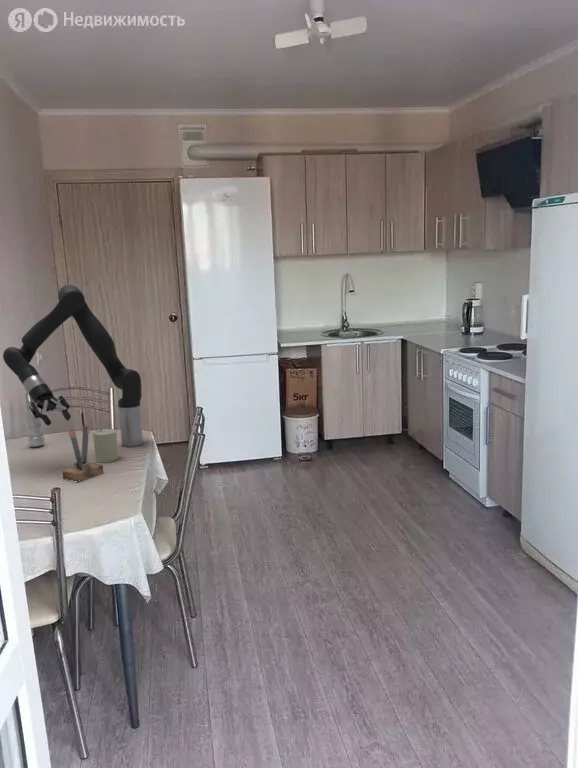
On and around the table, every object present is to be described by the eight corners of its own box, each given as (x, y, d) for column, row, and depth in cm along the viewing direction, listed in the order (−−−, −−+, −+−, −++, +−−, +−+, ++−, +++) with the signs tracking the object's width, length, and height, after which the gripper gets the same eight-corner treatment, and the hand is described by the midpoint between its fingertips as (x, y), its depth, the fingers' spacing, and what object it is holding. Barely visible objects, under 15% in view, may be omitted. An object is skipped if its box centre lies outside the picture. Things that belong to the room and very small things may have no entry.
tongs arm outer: (79, 466, 233) (69, 429, 228) (84, 467, 232) (74, 430, 227) (77, 467, 232) (67, 430, 227) (82, 468, 231) (72, 431, 226)
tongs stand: (89, 469, 240) (88, 457, 239) (103, 472, 236) (102, 460, 235) (63, 478, 231) (61, 465, 230) (77, 482, 226) (75, 469, 225)
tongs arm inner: (82, 465, 234) (84, 426, 234) (87, 466, 233) (89, 426, 232) (80, 465, 234) (82, 426, 233) (85, 467, 232) (87, 427, 231)
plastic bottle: (25, 448, 271) (20, 403, 268) (36, 443, 278) (31, 399, 274) (38, 449, 270) (33, 403, 266) (48, 444, 276) (43, 400, 272)
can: (107, 454, 259) (105, 426, 257) (123, 457, 254) (121, 429, 252) (90, 460, 251) (87, 432, 249) (106, 464, 247) (103, 434, 244)
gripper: (24, 386, 232) (46, 419, 228) (57, 379, 243) (79, 411, 239) (17, 399, 236) (39, 432, 232) (50, 392, 247) (71, 423, 243)
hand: (59, 421), depth 235 cm, fingers open, 8 cm apart
